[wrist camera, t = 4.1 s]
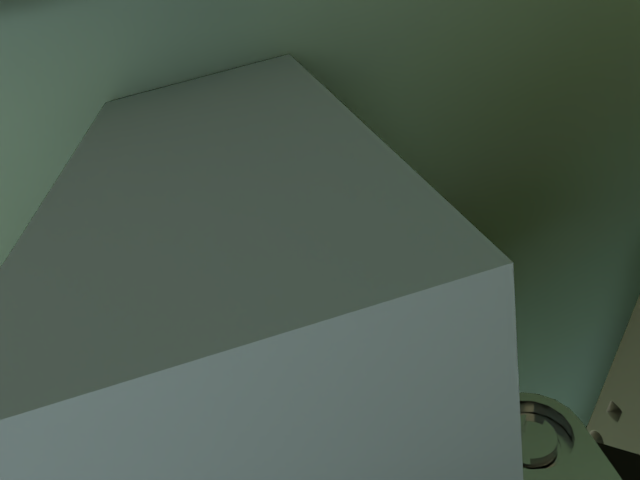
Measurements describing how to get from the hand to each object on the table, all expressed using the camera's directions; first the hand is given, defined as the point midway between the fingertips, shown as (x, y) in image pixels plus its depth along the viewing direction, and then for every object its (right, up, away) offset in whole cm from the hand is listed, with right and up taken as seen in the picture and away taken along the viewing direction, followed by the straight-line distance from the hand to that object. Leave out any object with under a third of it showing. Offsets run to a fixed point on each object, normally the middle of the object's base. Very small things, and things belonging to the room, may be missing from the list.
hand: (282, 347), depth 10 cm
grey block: (0, 0, +1) cm, 1 cm away
